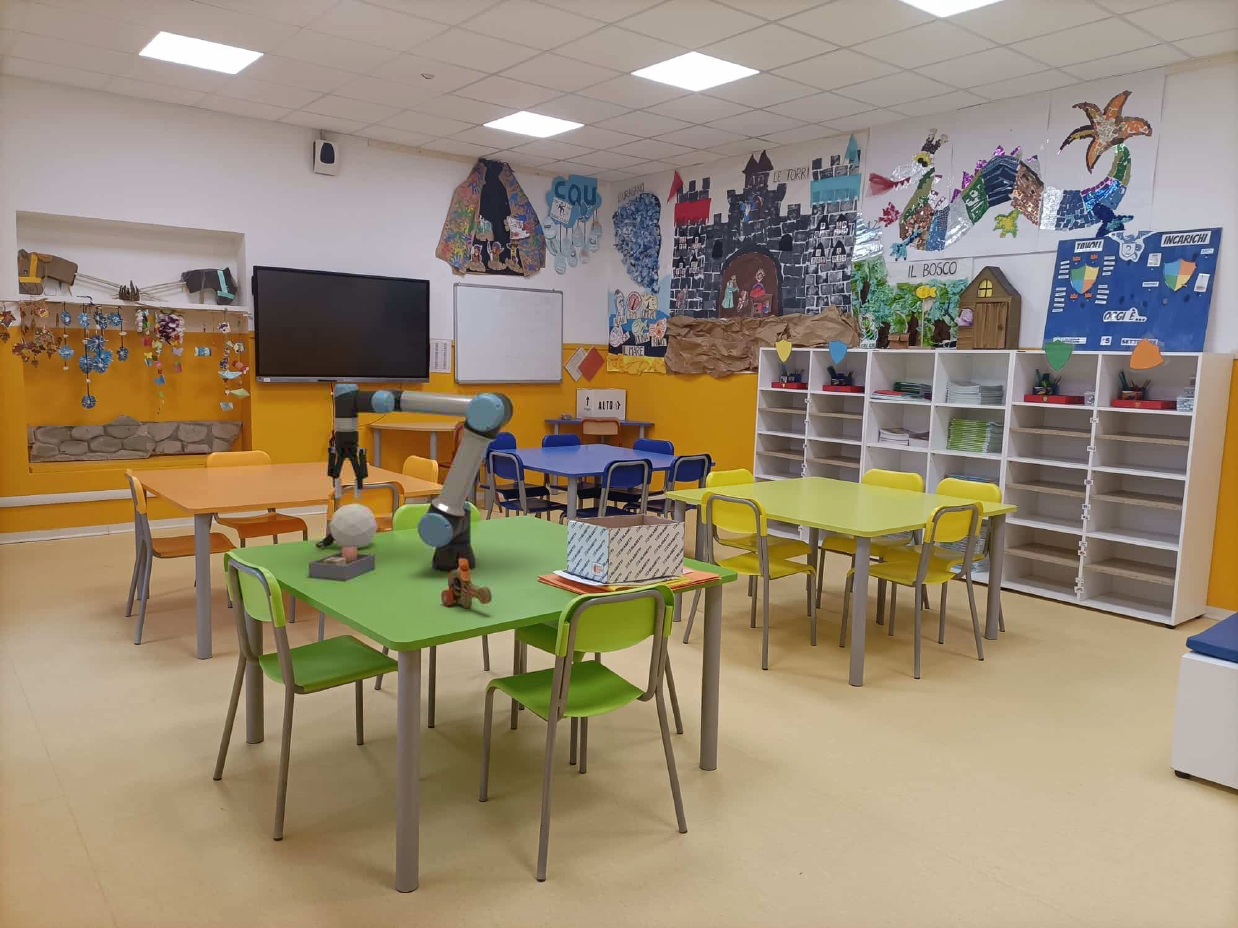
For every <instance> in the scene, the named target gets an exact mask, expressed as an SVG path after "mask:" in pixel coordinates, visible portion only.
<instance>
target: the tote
mask: <svg viewBox="0 0 1238 928" xmlns="http://www.w3.org/2000/svg"><path fill="white" fill-rule="evenodd" d="M331 557H340V558H342V551H339V552H336V553H333V554H330V555H327V556H324V557H322V558H319V559H315V560H313V561H310V562H308V578H309V579H310V578H311V579H318V580H319V579H320V580H329V581H337V582H347V581H350V580H352V579H354V578H356V577H360V576H361V575H364V574H367V573H370V572H371V571H374V570H376V555H375V554H369V553H358V552H357V561H355V562H352V563H349V564H346V565H334V564H324V560H326V559H328V558H331ZM366 572H367V573H366Z"/></svg>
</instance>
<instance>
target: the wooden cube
mask: <svg viewBox="0 0 1238 928" xmlns="http://www.w3.org/2000/svg"><path fill="white" fill-rule="evenodd" d="M324 564H334V565H346V558H340V557H331V558H328V559H326V560H324Z"/></svg>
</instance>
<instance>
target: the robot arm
mask: <svg viewBox="0 0 1238 928" xmlns="http://www.w3.org/2000/svg"><path fill="white" fill-rule="evenodd" d="M333 390H334V393H333V400H334V401H333V402H334V429H335V430H336V431H335V432H334V441H335V446H330V447H327V452H328V459H327V461H328V462H327V471H326V472H327V477H330V478H332V487H333V488H334V498H335V499H340V498H342V496H343V493H342V492H343V490H342V489H343V488H342V487H343V485H342V477H341V476H340V475H341V471H342V469H343V465H344V463H345V460H346V458H347V459H348V461H350V464H351V467H352V470H353V472H354V473H353V474H354V476H355V479H354V480H353V481H354V483H353V484H354V500H355V501H356V500H360V499H362V490H363V488H364V479H368V478H369V472H368V463H367V452H368V449H367V448H366V447H365V448H362V447H360V445H359V431H358V429H359V414H362V413H364V414H378V415H383V414H390V413H392V412H394V413H397V412H398V413H410V414H420V415H421V414H422V415H433V416H441V417H442V416H444V417H456V418H465V420H464V423H463V425H462V428H463V431H464V434H463V437H462V440H461V442H460V444H459V446H458V449H457V451H456V453H455V456H454V459H453V462H452V463H451V466H450V469H449V470H448V473H447V476H446V478H445V480H444V483H443V485H442V488H441V490H440V492H439V495H438V497H436V498H434V499H432V500H431V502H430V505H429V507H428V510H427V512H426V513H425V514H424V515H423V516H421V518H420V519H419V522H418V524H417V533H418V535H419V537H420V539H421V540H422V542H423V543H425V544H426V545H428V546H429V547H433V548H435V550H434V553H433V556H432V558H431V568H432V569H434V570H437V571H443V572H444V571H445V572H451V571H453V570H457V569H458V568H459V567H460V566H459V561H458V560H459V559H460V558H465V559H467V560H468V566H469V569H470V570H471V569H473V568H475V567H476V565H477V563H476V561H477V560H476V556H475V553H474V551H473V550H474V549H473V548H472V544H471V543H472V539H471V537H472V536H471V530H472V528H471V526H472V525H471V524H472V523H471V521H472V520H471V518H472V517H471V513H472V511H471V504H470V503H469V502H467V501H466V500H467V497H468V496H469V493H470V491H471V489H472V485H473V484H474V481H475V479H476V477H477V473H478V471H479V469H480V467H481V464H482V461H483V460H484V458H485V455H486V453H487V450H488V447H489V445H490V443H492V442H494V441H496V440H498V439H497V438H498V436H499V434H500V431H501V429H502V427H504V426H506V425H508V424H509V422H510V421H511V419H512V418H513V415H514V405H513V402H512V401H511V400H510V398H509V397H508V396H507V395H505V394H504V393H500V392H487V393H486V392H485V393H479V392H478V393H476V394H475V395H468V394H467V395H466V394H454V393H453V394H451V393H440V392H439V393H438V392H425V391H415V390H413V391H412V390H400V389H397V388H389V389H377V390H362V389H361V390H360V389H359V388H358V385H357V384H356V383H350V384H349V383H338V384H335V386H334V389H333Z"/></svg>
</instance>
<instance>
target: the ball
mask: <svg viewBox="0 0 1238 928" xmlns="http://www.w3.org/2000/svg"><path fill="white" fill-rule="evenodd" d="M327 496H328V497H330V495H327ZM329 530H330V533H327V534H326V537H324V538H323V539H322V540H321V541H317V542H316V543H315V547H317V549H320V548H322V547H324V548H326V547H329V546H331V545H332V544H335V542H336V544H337V545H338V546H339V547H341V548H343V547H357V549H361V548H365V547H366V546H367V545H368V544H370V542H372V541H373V539H374V537H375V535H376V533H377V530H378V524H377V521H376V518H375V514H374V513H373V512H372V510H371V509H370V508H369V507H368V506H365V505H363V504H360V503H351V504H350V503H349V504H346V505H342V506H341V507H339V508H338V509H337V510H336V511H335V512H333V515H332V517H331V520H330V522H329Z"/></svg>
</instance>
